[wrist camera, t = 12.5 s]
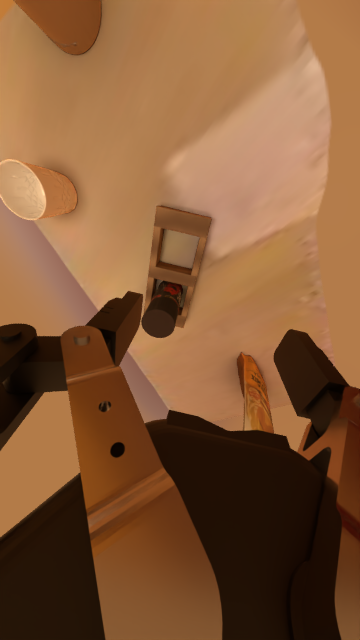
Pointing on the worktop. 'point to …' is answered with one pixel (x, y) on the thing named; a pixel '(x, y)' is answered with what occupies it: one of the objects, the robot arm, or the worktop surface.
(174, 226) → the wooden divided tray
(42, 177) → the white cup
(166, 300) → the deodorant
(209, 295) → the worktop surface
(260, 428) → the pancake mix bag
